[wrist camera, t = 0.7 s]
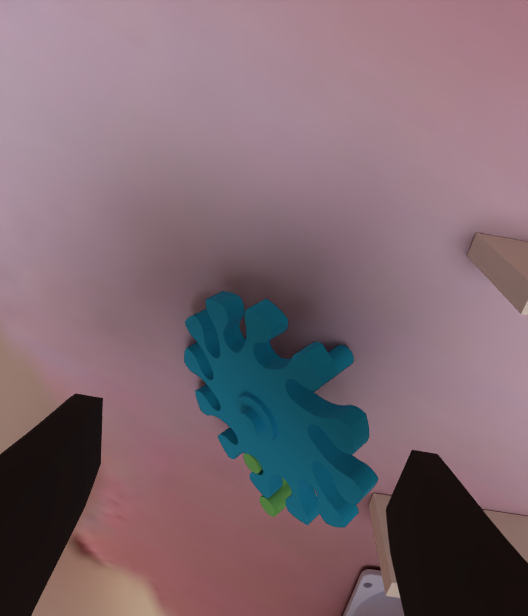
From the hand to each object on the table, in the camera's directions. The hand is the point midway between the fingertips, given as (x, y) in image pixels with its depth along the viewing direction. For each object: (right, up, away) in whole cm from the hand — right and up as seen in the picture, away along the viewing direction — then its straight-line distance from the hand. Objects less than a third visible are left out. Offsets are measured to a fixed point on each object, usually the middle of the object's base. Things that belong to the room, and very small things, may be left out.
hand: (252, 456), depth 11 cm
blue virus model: (+1, +1, +12) cm, 12 cm away
